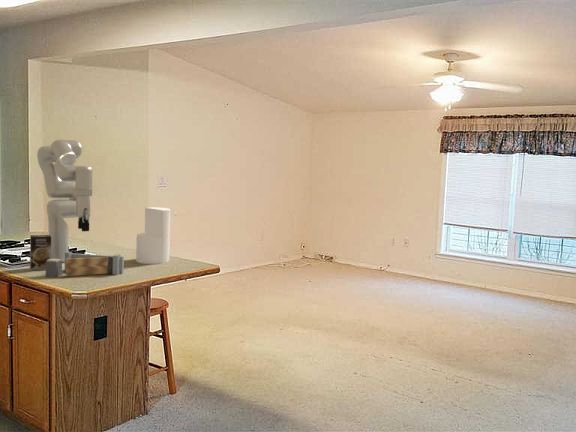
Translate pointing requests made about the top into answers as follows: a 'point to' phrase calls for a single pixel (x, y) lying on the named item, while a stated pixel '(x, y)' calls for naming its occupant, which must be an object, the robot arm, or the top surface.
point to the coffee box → (39, 251)
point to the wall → (117, 259)
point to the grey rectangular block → (53, 267)
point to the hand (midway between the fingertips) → (83, 229)
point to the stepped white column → (154, 237)
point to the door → (88, 265)
